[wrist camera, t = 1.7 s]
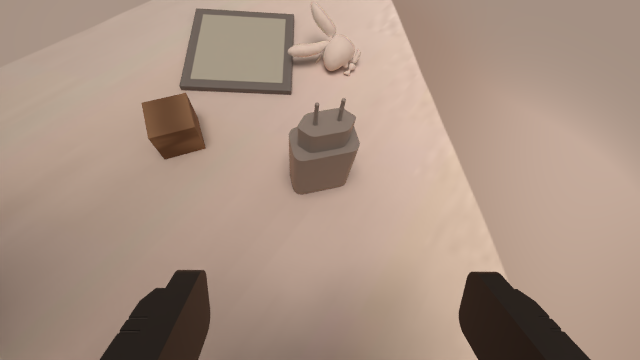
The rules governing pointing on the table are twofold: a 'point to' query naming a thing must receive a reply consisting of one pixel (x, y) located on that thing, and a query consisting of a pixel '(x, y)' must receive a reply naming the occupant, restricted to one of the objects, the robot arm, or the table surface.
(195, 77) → the pad
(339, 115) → the power adapter
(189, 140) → the walnut block
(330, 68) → the rabbit figurine
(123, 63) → the table surface
